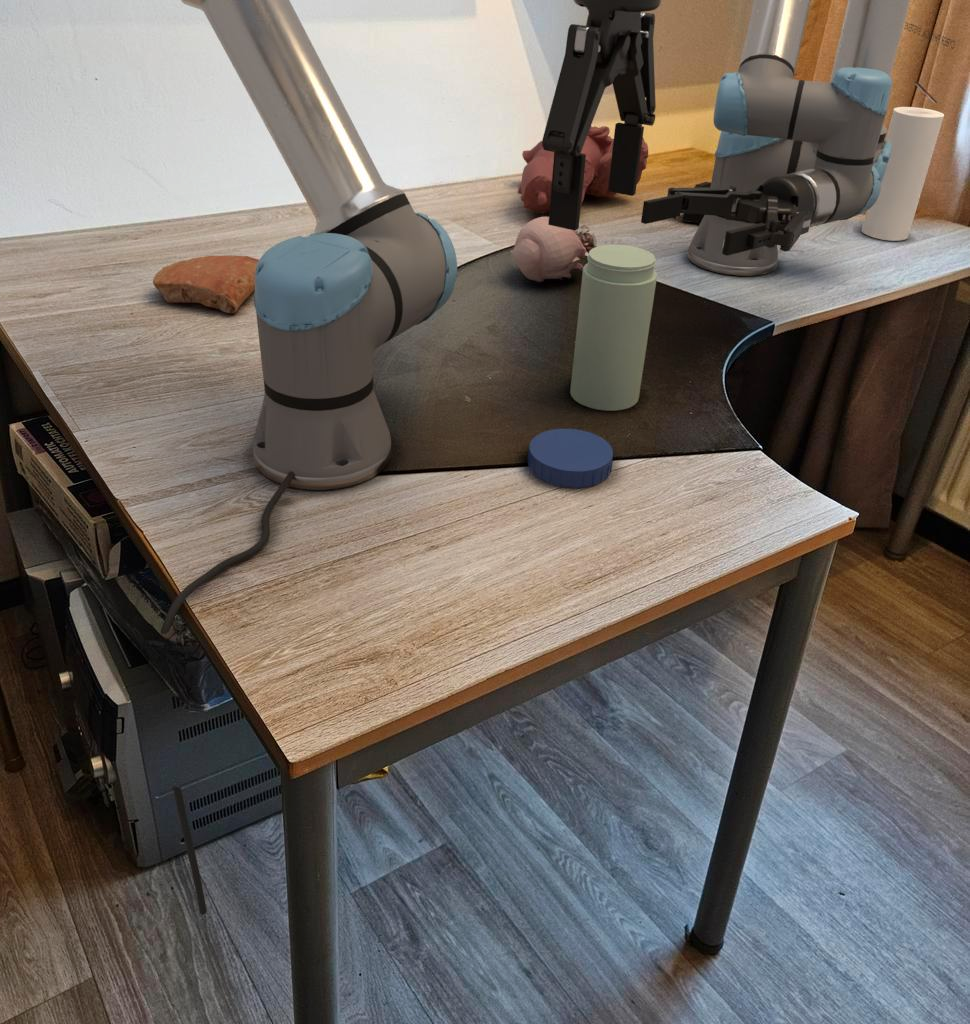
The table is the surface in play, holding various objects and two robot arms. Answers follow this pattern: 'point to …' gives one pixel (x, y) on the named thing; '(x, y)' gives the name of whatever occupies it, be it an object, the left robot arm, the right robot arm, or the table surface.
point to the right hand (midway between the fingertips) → (683, 227)
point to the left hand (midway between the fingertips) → (594, 209)
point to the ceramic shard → (209, 281)
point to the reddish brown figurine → (595, 173)
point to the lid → (570, 458)
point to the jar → (613, 326)
